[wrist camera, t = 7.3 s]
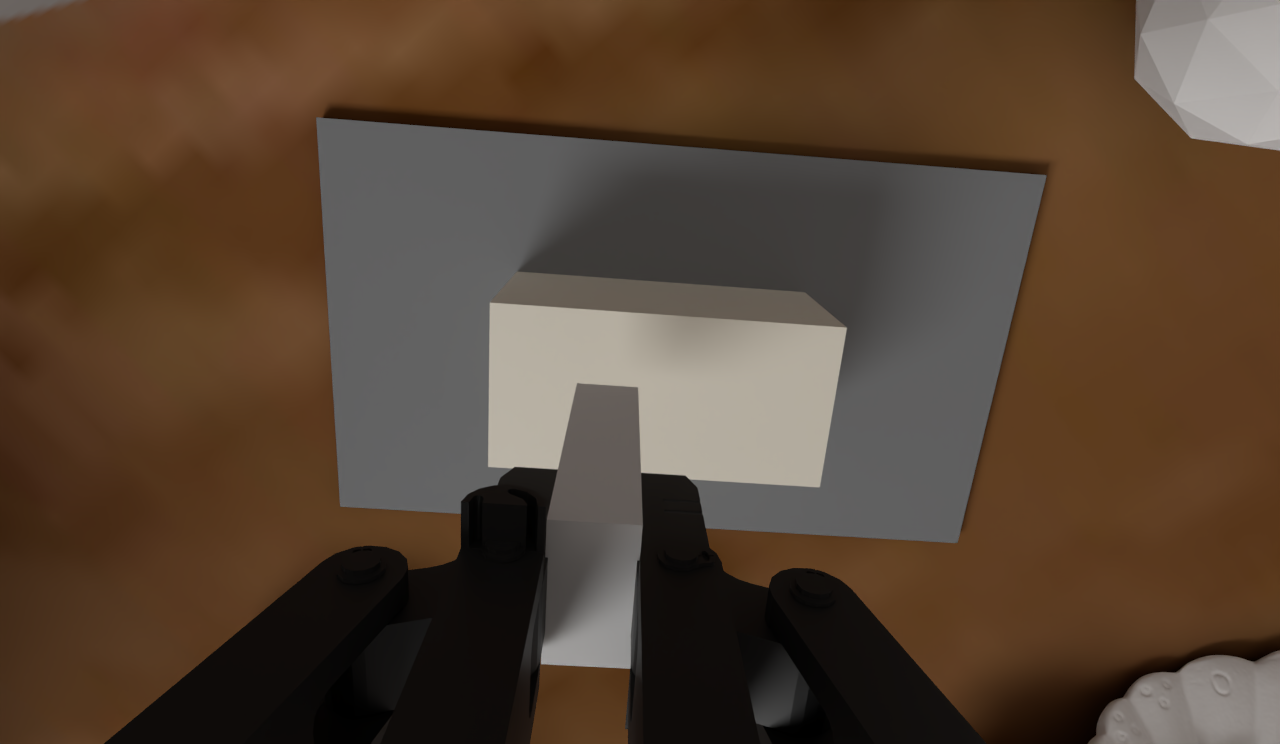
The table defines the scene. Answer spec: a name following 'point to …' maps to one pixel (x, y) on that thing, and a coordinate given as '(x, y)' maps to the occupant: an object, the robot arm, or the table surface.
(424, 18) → the table surface
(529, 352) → the cream block
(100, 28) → the table surface
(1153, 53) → the geometric ball
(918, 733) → the robot arm
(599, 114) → the table surface
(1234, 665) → the cherub figurine
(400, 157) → the grey mat
